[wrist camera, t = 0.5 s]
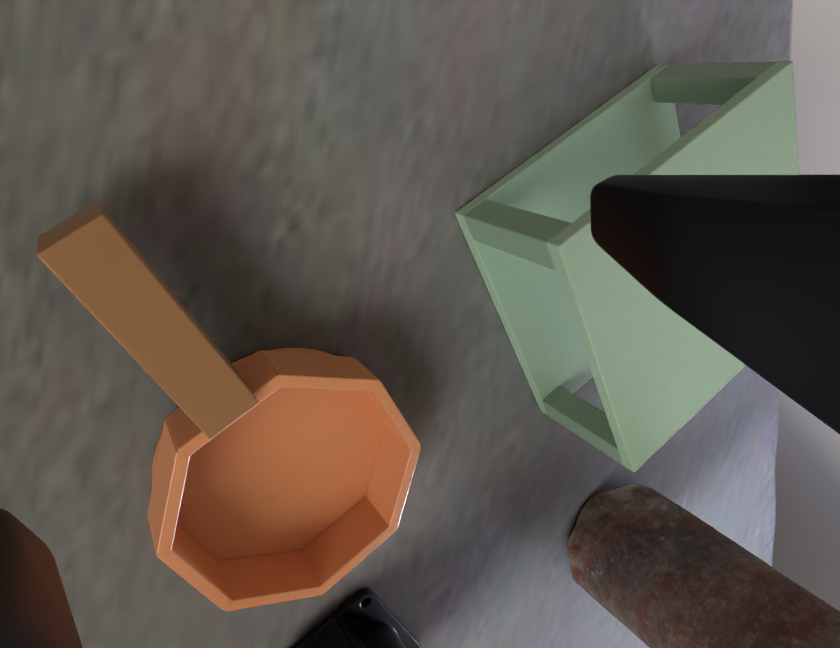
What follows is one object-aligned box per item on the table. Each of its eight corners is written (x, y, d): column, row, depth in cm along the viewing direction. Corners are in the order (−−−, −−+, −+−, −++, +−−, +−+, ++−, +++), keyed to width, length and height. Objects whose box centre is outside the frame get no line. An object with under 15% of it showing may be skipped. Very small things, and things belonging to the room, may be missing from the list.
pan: (413, 451, 27) (453, 491, 24) (245, 593, 24) (268, 653, 22) (201, 128, 18) (228, 136, 15) (-89, 304, 16) (-116, 347, 13)
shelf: (695, 274, 33) (806, 307, 28) (540, 411, 30) (634, 473, 25) (657, 64, 26) (793, 60, 22) (453, 212, 23) (558, 246, 19)
